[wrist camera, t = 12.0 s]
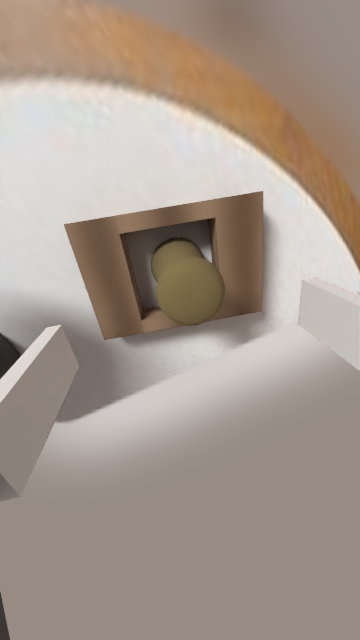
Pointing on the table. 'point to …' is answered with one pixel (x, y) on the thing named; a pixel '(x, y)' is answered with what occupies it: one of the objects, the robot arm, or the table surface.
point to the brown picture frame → (108, 233)
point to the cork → (186, 282)
